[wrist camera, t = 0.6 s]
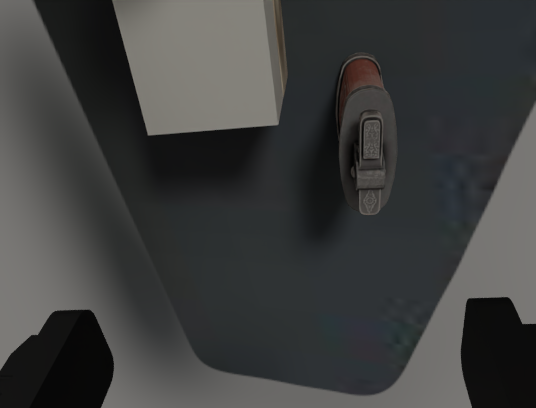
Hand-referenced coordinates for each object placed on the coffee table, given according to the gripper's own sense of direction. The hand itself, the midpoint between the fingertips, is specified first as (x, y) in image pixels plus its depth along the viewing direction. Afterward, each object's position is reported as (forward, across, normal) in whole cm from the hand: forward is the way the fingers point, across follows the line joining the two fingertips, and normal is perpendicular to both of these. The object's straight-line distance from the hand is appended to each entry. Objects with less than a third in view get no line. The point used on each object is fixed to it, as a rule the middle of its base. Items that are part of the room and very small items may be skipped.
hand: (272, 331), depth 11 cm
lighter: (+27, -3, +6) cm, 28 cm away
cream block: (+22, +5, 0) cm, 23 cm away
